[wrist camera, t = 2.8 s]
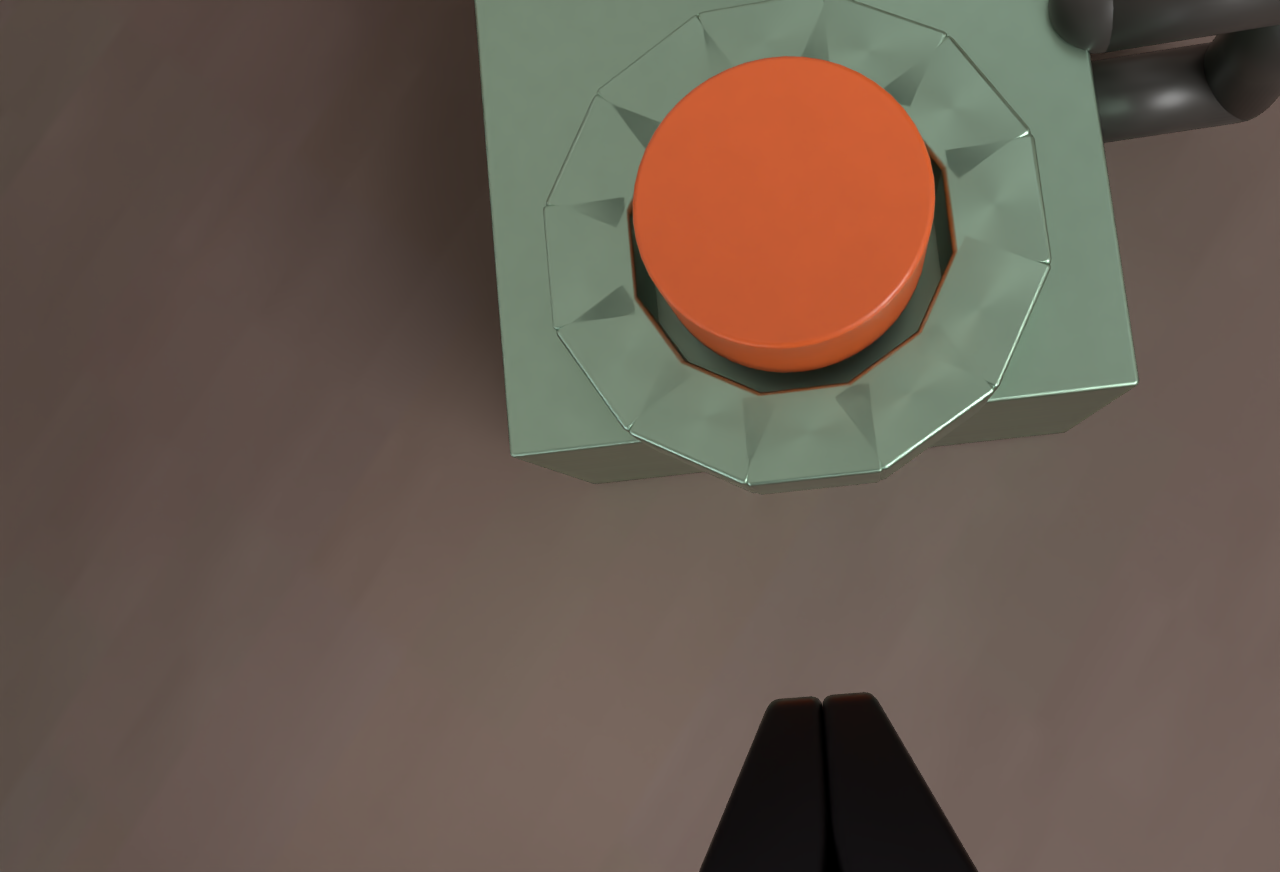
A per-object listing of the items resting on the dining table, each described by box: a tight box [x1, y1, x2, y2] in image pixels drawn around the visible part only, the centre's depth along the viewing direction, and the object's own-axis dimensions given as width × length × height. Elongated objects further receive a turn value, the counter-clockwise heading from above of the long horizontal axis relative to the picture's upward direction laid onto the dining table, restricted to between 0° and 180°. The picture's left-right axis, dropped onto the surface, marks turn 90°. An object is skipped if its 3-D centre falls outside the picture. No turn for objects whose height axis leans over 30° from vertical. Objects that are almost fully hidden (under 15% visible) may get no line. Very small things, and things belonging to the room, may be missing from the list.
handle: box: [1048, 0, 1280, 143], centre depth 19 cm, size 1×4×5 cm, turn 95°
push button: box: [633, 56, 935, 373], centre depth 15 cm, size 4×4×2 cm
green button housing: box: [474, 0, 1139, 495], centre depth 20 cm, size 12×9×8 cm
